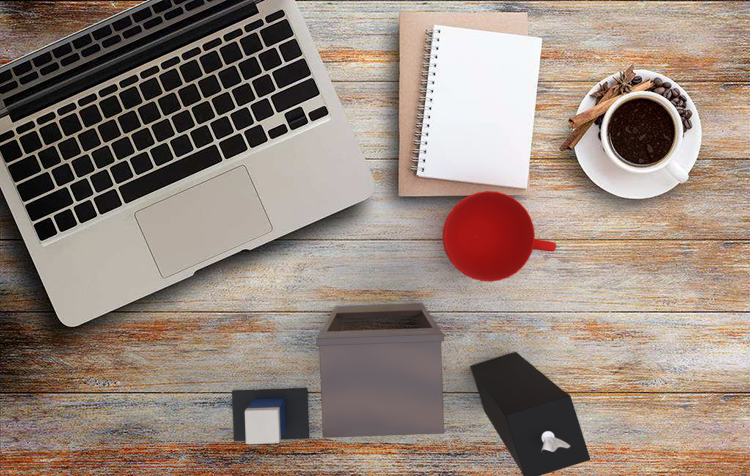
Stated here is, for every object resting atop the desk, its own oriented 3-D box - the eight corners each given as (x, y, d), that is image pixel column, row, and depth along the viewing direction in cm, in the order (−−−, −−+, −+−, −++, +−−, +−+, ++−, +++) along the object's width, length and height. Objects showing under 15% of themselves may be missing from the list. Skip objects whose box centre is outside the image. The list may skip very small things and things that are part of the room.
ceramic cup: (534, 286, 87) (554, 292, 77) (430, 269, 88) (437, 274, 78) (547, 206, 87) (569, 202, 77) (443, 190, 87) (451, 184, 77)
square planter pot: (425, 377, 88) (447, 443, 60) (338, 380, 88) (319, 448, 60) (422, 303, 88) (443, 334, 60) (335, 306, 88) (315, 338, 60)
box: (286, 428, 87) (279, 443, 81) (254, 430, 87) (245, 444, 81) (284, 397, 87) (278, 409, 81) (253, 398, 87) (244, 410, 81)
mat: (309, 437, 88) (308, 438, 87) (234, 440, 88) (233, 441, 87) (307, 387, 88) (306, 388, 87) (232, 390, 88) (231, 391, 87)
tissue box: (469, 365, 88) (512, 425, 60) (516, 350, 88) (581, 403, 60) (484, 411, 88) (534, 493, 60) (530, 397, 87) (602, 472, 59)
